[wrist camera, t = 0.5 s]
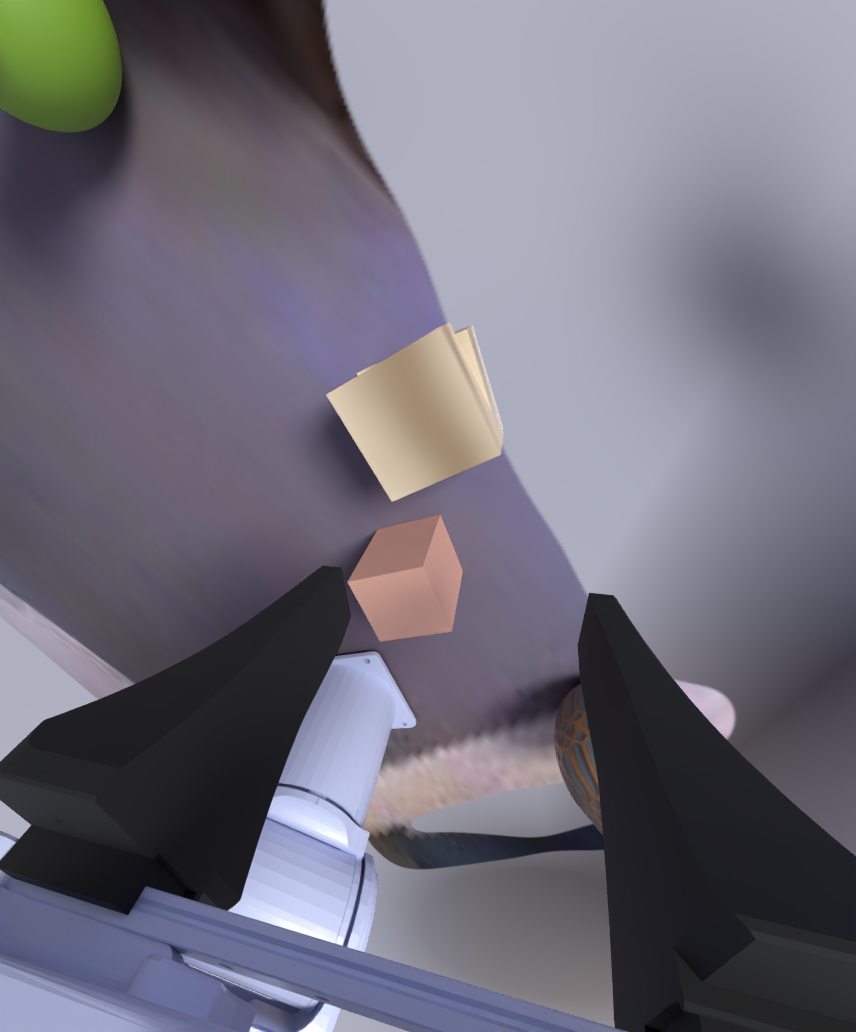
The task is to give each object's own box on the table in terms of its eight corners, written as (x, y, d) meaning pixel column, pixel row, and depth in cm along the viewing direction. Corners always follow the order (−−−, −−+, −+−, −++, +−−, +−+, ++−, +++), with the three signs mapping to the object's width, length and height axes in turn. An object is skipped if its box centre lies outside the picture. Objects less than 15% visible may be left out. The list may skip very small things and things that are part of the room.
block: (402, 582, 25) (380, 641, 21) (377, 529, 24) (347, 582, 19) (462, 570, 24) (451, 631, 20) (440, 514, 22) (422, 566, 18)
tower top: (405, 478, 19) (392, 501, 17) (348, 382, 18) (326, 394, 15) (502, 434, 17) (500, 454, 15) (449, 322, 16) (439, 327, 14)
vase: (621, 742, 29) (659, 902, 21) (532, 705, 29) (538, 854, 21) (686, 687, 25) (758, 856, 18) (584, 645, 25) (614, 797, 18)
